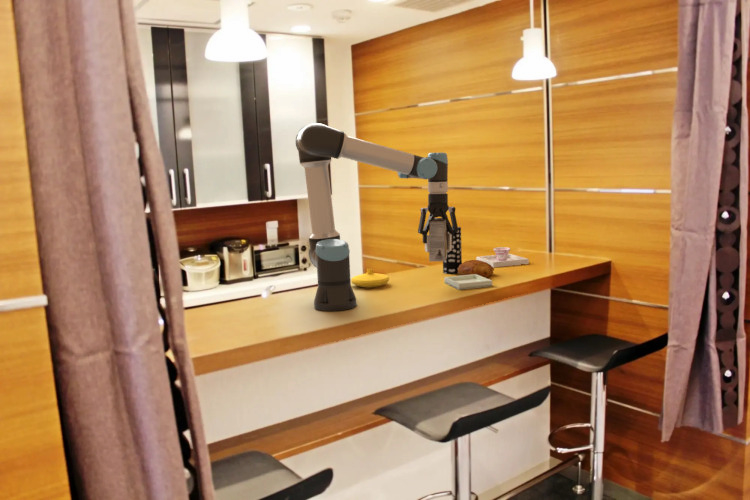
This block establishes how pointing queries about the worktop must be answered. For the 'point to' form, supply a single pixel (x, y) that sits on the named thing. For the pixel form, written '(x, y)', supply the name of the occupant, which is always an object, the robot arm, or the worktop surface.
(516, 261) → the saucer
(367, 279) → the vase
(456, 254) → the spotted tube
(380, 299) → the worktop surface
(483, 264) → the croissant
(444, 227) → the coffee box
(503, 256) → the teacup
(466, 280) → the tray
